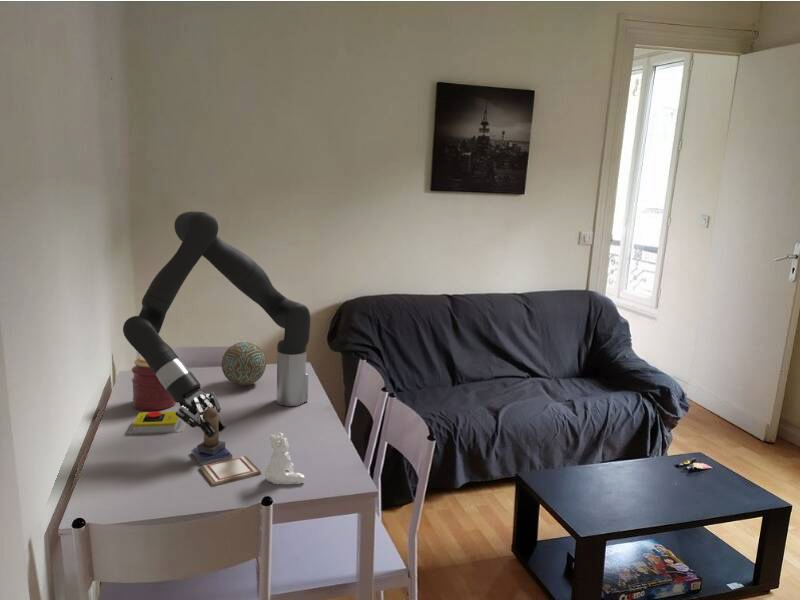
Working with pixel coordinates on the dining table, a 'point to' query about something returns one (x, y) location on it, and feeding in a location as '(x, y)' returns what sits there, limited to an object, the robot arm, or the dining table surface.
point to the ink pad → (211, 456)
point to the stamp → (212, 443)
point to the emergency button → (157, 423)
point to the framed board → (229, 470)
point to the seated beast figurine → (281, 463)
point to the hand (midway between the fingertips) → (217, 432)
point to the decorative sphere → (243, 363)
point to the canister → (148, 388)
